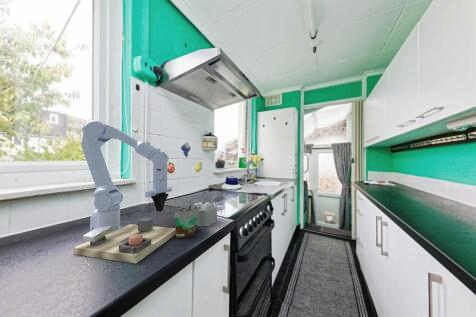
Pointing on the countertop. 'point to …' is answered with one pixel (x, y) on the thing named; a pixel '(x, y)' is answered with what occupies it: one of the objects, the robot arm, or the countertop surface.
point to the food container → (186, 221)
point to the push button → (135, 240)
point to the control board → (125, 244)
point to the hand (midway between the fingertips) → (159, 211)
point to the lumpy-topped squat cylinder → (206, 214)
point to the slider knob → (145, 224)
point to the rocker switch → (97, 233)
